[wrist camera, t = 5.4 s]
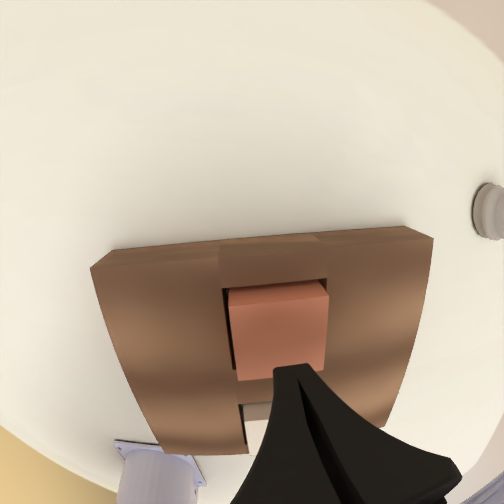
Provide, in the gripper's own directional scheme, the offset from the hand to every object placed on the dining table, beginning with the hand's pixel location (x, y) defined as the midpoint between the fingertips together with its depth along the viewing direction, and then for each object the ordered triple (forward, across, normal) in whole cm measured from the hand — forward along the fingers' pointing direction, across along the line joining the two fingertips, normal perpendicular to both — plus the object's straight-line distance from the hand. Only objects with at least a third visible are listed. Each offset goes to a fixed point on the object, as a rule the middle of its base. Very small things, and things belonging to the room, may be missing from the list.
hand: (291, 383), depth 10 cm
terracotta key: (+6, 0, 0) cm, 6 cm away
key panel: (+7, 0, +4) cm, 8 cm away
